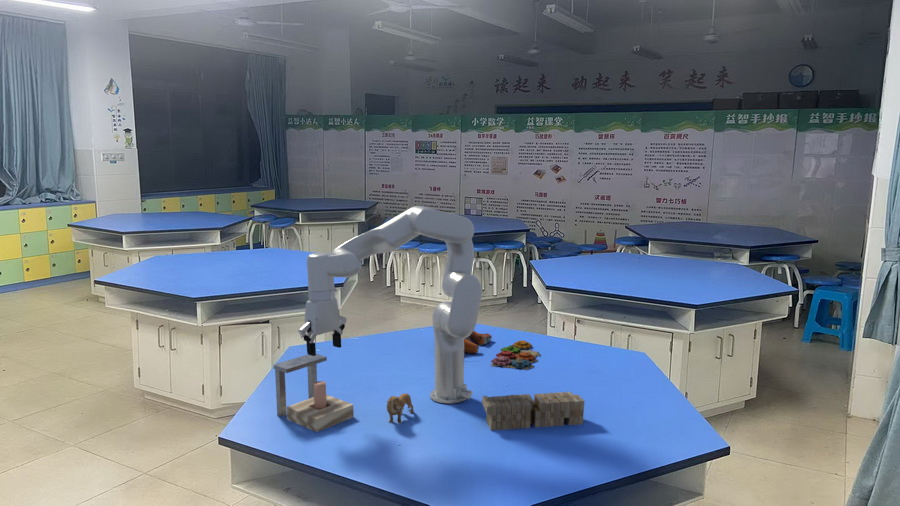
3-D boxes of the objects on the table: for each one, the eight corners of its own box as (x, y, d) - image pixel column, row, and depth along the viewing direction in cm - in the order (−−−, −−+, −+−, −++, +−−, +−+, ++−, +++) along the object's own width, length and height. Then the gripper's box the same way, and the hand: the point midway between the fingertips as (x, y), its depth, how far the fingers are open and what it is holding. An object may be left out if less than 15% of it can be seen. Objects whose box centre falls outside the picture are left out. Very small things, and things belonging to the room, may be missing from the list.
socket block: (353, 417, 196) (353, 404, 195) (316, 432, 185) (316, 419, 185) (323, 405, 205) (323, 393, 204) (287, 419, 194) (286, 406, 194)
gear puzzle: (507, 344, 271) (507, 334, 270) (545, 347, 266) (546, 338, 266) (489, 367, 242) (489, 357, 241) (531, 372, 237) (531, 361, 236)
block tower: (574, 417, 198) (480, 420, 194) (575, 391, 197) (481, 393, 192) (583, 428, 190) (486, 431, 186) (584, 401, 189) (487, 403, 185)
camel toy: (437, 352, 254) (480, 362, 250) (443, 319, 254) (486, 328, 251) (449, 349, 278) (488, 358, 275) (455, 319, 279) (494, 327, 275)
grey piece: (328, 406, 204) (326, 356, 202) (288, 421, 193) (286, 369, 190) (315, 401, 208) (313, 352, 206) (275, 415, 197) (273, 364, 194)
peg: (329, 417, 195) (328, 383, 194) (319, 421, 193) (318, 386, 191) (321, 414, 198) (320, 380, 196) (312, 418, 195) (311, 383, 193)
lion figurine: (400, 429, 187) (400, 399, 186) (383, 427, 189) (382, 398, 187) (416, 409, 201) (416, 382, 200) (400, 408, 203) (399, 380, 201)
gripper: (336, 288, 199) (338, 341, 202) (289, 298, 186) (293, 356, 189) (352, 291, 194) (354, 346, 197) (306, 302, 181) (309, 361, 184)
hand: (324, 350), depth 193 cm, fingers open, 9 cm apart
